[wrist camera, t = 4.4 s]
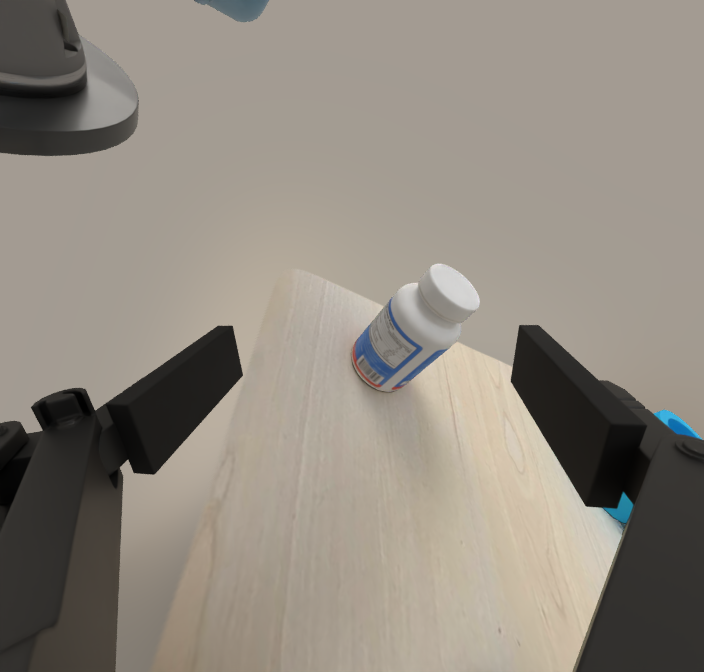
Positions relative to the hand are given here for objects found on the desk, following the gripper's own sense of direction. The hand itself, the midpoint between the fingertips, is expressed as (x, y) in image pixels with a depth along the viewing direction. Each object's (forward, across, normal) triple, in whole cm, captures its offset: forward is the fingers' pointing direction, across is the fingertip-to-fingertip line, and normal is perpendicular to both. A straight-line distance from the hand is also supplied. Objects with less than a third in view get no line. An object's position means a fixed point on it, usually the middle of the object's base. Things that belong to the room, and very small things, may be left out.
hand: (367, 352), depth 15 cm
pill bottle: (+11, 0, -6) cm, 12 cm away
